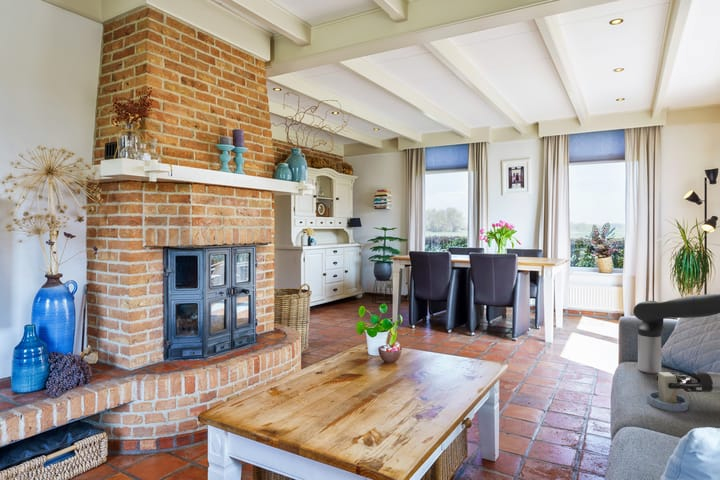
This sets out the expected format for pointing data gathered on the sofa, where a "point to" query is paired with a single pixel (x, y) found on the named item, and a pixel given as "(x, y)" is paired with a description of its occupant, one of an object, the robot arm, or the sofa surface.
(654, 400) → the dish
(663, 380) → the box
